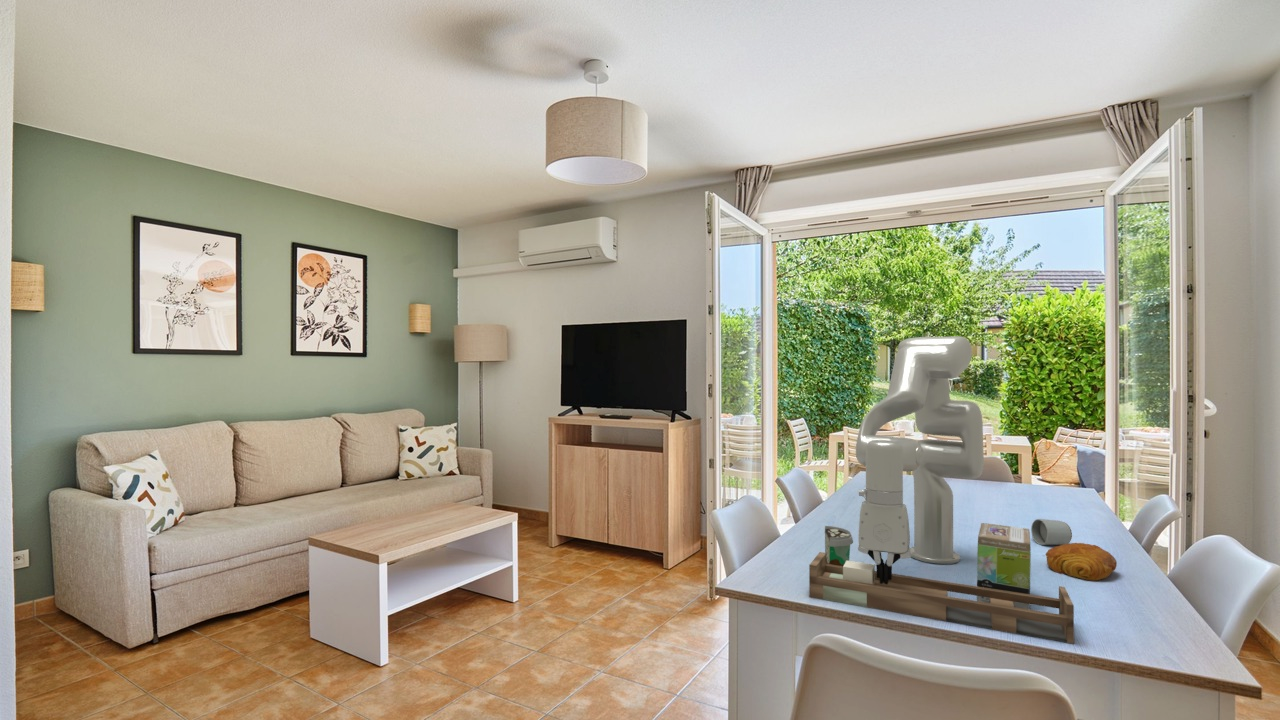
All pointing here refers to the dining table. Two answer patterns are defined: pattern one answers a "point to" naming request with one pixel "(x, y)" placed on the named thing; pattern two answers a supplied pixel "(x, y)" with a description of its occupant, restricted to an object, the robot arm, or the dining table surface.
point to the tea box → (1004, 560)
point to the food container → (837, 545)
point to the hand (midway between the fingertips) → (884, 581)
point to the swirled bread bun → (1081, 561)
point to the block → (859, 572)
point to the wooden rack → (947, 602)
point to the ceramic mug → (1051, 532)
